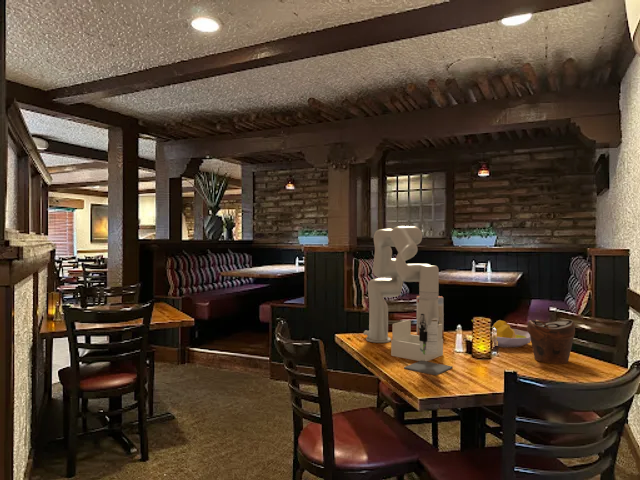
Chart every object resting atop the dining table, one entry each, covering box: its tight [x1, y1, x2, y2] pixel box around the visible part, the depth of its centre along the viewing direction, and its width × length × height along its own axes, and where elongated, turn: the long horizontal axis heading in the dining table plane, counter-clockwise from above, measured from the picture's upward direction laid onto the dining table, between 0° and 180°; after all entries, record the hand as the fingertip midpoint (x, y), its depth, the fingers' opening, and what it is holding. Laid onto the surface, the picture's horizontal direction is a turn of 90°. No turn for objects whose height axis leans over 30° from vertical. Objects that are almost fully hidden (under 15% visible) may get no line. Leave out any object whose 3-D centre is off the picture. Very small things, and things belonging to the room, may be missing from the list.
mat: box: [403, 361, 454, 376], centre depth 188 cm, size 14×14×1 cm
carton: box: [390, 319, 444, 362], centre depth 209 cm, size 17×17×14 cm
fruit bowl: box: [470, 319, 531, 348], centre depth 233 cm, size 28×27×11 cm
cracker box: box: [416, 295, 445, 336], centre depth 256 cm, size 14×6×21 cm, turn 84°
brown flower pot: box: [526, 319, 576, 365], centre depth 202 cm, size 18×20×18 cm
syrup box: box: [420, 318, 438, 355], centre depth 188 cm, size 6×6×14 cm
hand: (428, 339), depth 188 cm, fingers closed on syrup box, 8 cm apart
